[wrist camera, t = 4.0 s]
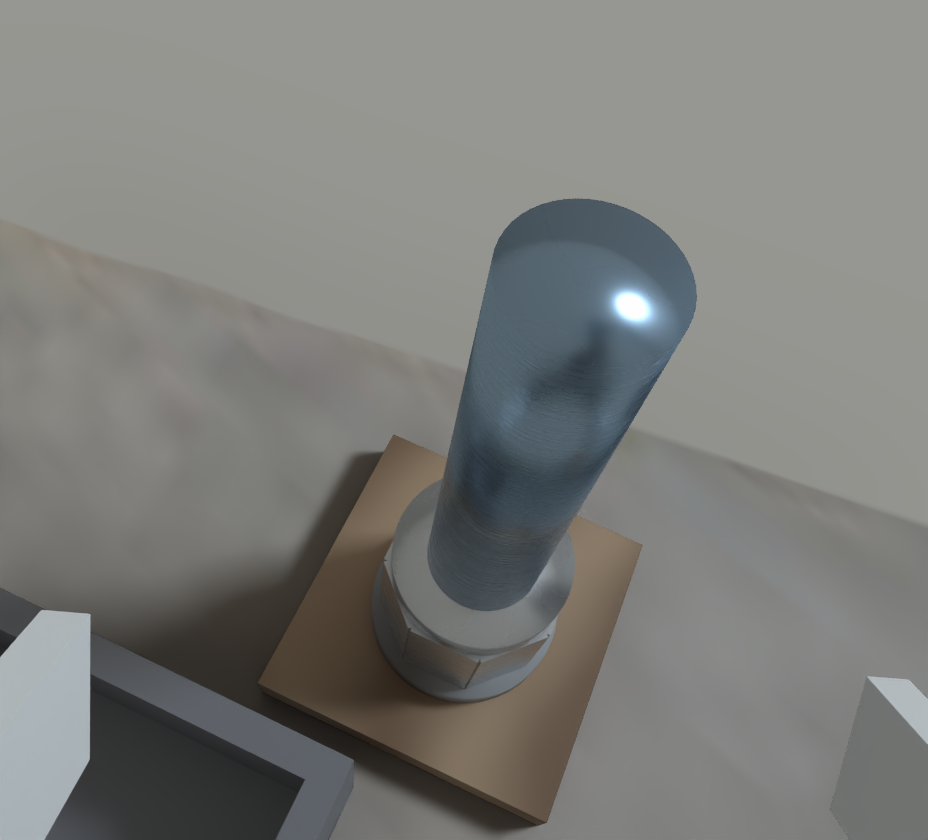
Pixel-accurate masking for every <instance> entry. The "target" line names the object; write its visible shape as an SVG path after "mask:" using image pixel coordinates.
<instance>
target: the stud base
mask: <svg viewBox="0 0 928 840" xmlns="http://www.w3.org/2000/svg"><path fill="white" fill-rule="evenodd" d="M446 462H447V458H446V457H443V456H441V455H439V454H437V453H434V452H432V451H430V450H427V449H425V448H423V447H421V446H418V445H416V444H414V443H412V442H409V441H407V440H405V439H403V438H400V437H398V436H396V435H393V436H392V438H391V440H390V442H389V444H388V446H387V447H386V449H385V451H384V453H383V455H382V457H381V458H380V460H379V462H378V464H377V466H376V468H375V469H374V471H373V473H372V475H371V477H370V478H369V480H368V482H367V484H366V486H365V488H364V489H363V491H362V493H361V495H360V497H359V499H358V500H357V502H356V504H355V506H354V508H353V509H352V511H351V513H350V515H349V517H348V519H347V520H346V522H345V524H344V526H343V528H342V530H341V531H340V533H339V535H338V537H337V539H336V541H335V542H334V544H333V546H332V548H331V550H330V551H329V553H328V555H327V557H326V559H325V561H324V562H323V564H322V566H321V568H320V570H319V572H318V573H317V575H316V577H315V579H314V581H313V582H312V584H311V586H310V588H309V590H308V592H307V593H306V595H305V597H304V599H303V601H302V603H301V604H300V606H299V608H298V610H297V612H296V614H295V615H294V617H293V619H292V621H291V623H290V624H289V626H288V628H287V630H286V632H285V634H284V635H283V637H282V639H281V641H280V643H279V645H278V646H277V648H276V650H275V652H274V654H273V655H272V657H271V659H270V661H269V663H268V665H267V666H266V668H265V670H264V672H263V674H262V676H261V677H260V679H259V681H258V685H259V688H260V690H261V692H263V693H265V694H267V695H269V696H271V697H273V698H275V699H277V700H280V701H282V702H284V703H286V704H288V705H290V706H292V707H294V708H296V709H298V710H300V711H302V712H304V713H306V714H308V715H311V716H313V717H315V718H317V719H319V720H321V721H323V722H325V723H327V724H329V725H331V726H333V727H335V728H337V729H339V730H342V731H344V732H346V733H348V734H350V735H352V736H354V737H356V738H358V739H360V740H362V741H364V742H366V743H368V744H371V745H373V746H375V747H377V748H379V749H381V750H383V751H385V752H387V753H389V754H391V755H393V756H395V757H397V758H399V759H402V760H404V761H406V762H408V763H410V764H412V765H414V766H416V767H418V768H420V769H422V770H424V771H426V772H428V773H430V774H433V775H435V776H437V777H439V778H441V779H443V780H445V781H447V782H449V783H451V784H453V785H455V786H457V787H459V788H462V789H464V790H466V791H468V792H470V793H472V794H474V795H476V796H478V797H480V798H482V799H484V800H486V801H488V802H490V803H493V804H495V805H497V806H499V807H501V808H503V809H505V810H507V811H509V812H511V813H513V814H515V815H517V816H519V817H522V818H524V819H526V820H528V821H530V822H532V823H534V824H536V825H538V826H539V825H542V824H544V823H547V821H548V818H549V815H550V812H551V809H552V806H553V803H554V800H555V797H556V795H557V792H558V789H559V786H560V783H561V780H562V777H563V774H564V771H565V769H566V766H567V763H568V760H569V757H570V754H571V751H572V748H573V745H574V742H575V740H576V737H577V734H578V731H579V728H580V725H581V722H582V719H583V716H584V713H585V711H586V708H587V705H588V702H589V699H590V696H591V693H592V690H593V687H594V684H595V682H596V679H597V676H598V673H599V670H600V667H601V664H602V661H603V658H604V655H605V653H606V650H607V647H608V644H609V641H610V638H611V635H612V632H613V629H614V627H615V624H616V621H617V618H618V615H619V612H620V609H621V606H622V603H623V600H624V598H625V595H626V592H627V589H628V586H629V583H630V580H631V577H632V574H633V571H634V569H635V566H636V563H637V560H638V557H639V554H640V551H641V548H642V544H640V543H637V542H635V541H633V540H631V539H628V538H626V537H624V536H622V535H619V534H617V533H615V532H613V531H610V530H608V529H606V528H604V527H601V526H599V525H597V524H595V523H592V522H590V521H588V520H585V519H583V518H581V517H579V516H575V518H574V519H573V521H572V523H571V524H570V526H569V528H568V531H569V534H570V536H571V540H572V544H573V548H574V555H575V573H574V580H573V584H572V588H571V591H570V594H569V596H568V598H567V600H566V603H565V605H564V606H563V608H562V609H561V611H560V612H559V614H558V617H557V619H556V622H555V625H554V627H553V630H552V632H551V635H550V636H549V638H548V639H547V640H546V642H545V643H544V644H543V645H542V647H541V648H540V649H539V651H538V652H537V653H536V654H535V656H534V657H533V658H532V659H531V661H530V662H529V663H528V665H526V666H525V667H523V668H520V669H518V670H515V671H512V672H510V673H507V674H505V675H502V676H500V677H497V678H494V679H492V680H489V681H487V682H484V683H481V684H479V685H476V686H474V687H471V688H468V689H465V687H464V689H461V688H459V687H457V686H455V685H453V684H451V683H448V682H446V681H444V680H442V679H440V678H438V677H436V676H434V675H431V674H429V673H427V672H425V671H423V670H421V669H419V668H417V667H415V666H412V665H410V664H408V663H406V662H404V661H403V660H404V658H403V659H401V657H400V654H399V651H398V648H397V646H396V643H395V640H394V637H393V634H392V631H391V629H390V626H389V623H388V620H387V617H386V614H385V612H384V609H383V606H382V603H381V600H380V592H381V582H382V572H383V562H384V557H385V556H386V554H387V552H388V550H389V548H390V546H391V544H392V542H393V538H394V534H395V531H396V527H397V525H398V522H399V520H400V518H401V516H402V514H403V513H404V511H405V509H406V508H407V506H408V505H409V504H410V503H411V501H412V500H413V499H414V498H415V497H416V496H417V495H418V494H419V493H420V492H421V491H422V490H424V489H425V488H427V487H428V486H429V485H431V484H433V483H435V482H436V481H438V480H440V479H443V475H444V471H445V466H446Z"/></svg>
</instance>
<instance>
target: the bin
mask: <svg viewBox="0 0 928 840" xmlns="http://www.w3.org/2000/svg"><path fill="white" fill-rule="evenodd" d="M41 610H45V609H43V608H41V607H39V606H37V605H34V604H32V603H30V602H28V601H26V600H24V599H22V598H20V597H18V596H16V595H14V594H12V593H10V592H8V591H6V590H4V589H2V588H0V657H1V656H2V655H3V653H4V652H5V651H6V650H7V649H8V648H9V647H10V645H11V644H12V643H13V642H14V641H15V640H16V638H17V637H18V636H19V635H20V634H21V633H22V632H23V630H24V629H25V628H26V627H27V626H28V625H29V624H30V622H31V621H32V620H33V619H34V618H35V617H36V616H37V614H38V613H39V612H40V611H41ZM353 780H354V760H353V759H351V758H349V757H347V756H345V755H343V754H341V753H339V752H337V751H335V750H333V749H330V748H328V747H326V746H324V745H322V744H320V743H318V742H316V741H314V740H312V739H310V738H308V737H306V736H304V735H302V734H300V733H298V732H296V731H293V730H291V729H289V728H287V727H285V726H283V725H281V724H279V723H277V722H275V721H273V720H271V719H269V718H267V717H265V716H263V715H261V714H259V713H256V712H254V711H252V710H250V709H248V708H246V707H244V706H242V705H240V704H238V703H236V702H234V701H232V700H230V699H228V698H226V697H224V696H222V695H219V694H217V693H215V692H213V691H211V690H209V689H207V688H205V687H203V686H201V685H199V684H197V683H195V682H193V681H191V680H189V679H187V678H185V677H182V676H180V675H178V674H176V673H174V672H172V671H170V670H168V669H166V668H164V667H162V666H160V665H158V664H156V663H154V662H152V661H150V660H148V659H145V658H143V657H141V656H139V655H137V654H135V653H133V652H131V651H129V650H127V649H125V648H123V647H121V646H119V645H117V644H115V643H113V642H111V641H108V640H106V639H104V638H102V637H100V636H98V635H96V634H94V633H92V632H90V760H89V762H88V764H87V765H86V767H85V769H84V771H83V772H82V774H81V776H80V778H79V780H78V781H77V783H76V785H75V787H74V788H73V790H72V792H71V794H70V795H69V797H68V799H67V801H66V802H65V804H64V806H63V808H62V810H61V811H60V813H59V815H58V817H57V818H56V820H55V822H54V824H53V825H52V827H51V829H50V831H49V833H48V834H47V836H46V838H45V840H329V838H330V836H331V834H332V832H333V829H334V827H335V825H336V823H337V821H338V819H339V816H340V814H341V812H342V810H343V808H344V806H345V803H346V801H347V799H348V797H349V795H350V793H351V790H352V788H353Z"/></svg>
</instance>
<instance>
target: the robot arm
mask: <svg viewBox="0 0 928 840" xmlns="http://www.w3.org/2000/svg"><path fill="white" fill-rule="evenodd" d="M89 760H90V614H86V613H73V612H61V611H49V610H41V611H40V612H39V613H38V614H37V616H36V617H35V618H34V619H33V620H32V621H31V622H30V624H29V625H28V626H27V627H26V628H25V629H24V630H23V632H22V633H21V634H20V635H19V636H18V637H17V638H16V640H15V641H14V642H13V643H12V644H11V645H10V647H9V648H8V649H7V650H6V651H5V652H4V653H3V655H2V656H1V657H0V840H45V838H46V836H47V834H48V833H49V831H50V829H51V827H52V825H53V824H54V822H55V820H56V818H57V817H58V815H59V813H60V811H61V810H62V808H63V806H64V804H65V802H66V801H67V799H68V797H69V795H70V794H71V792H72V790H73V788H74V787H75V785H76V783H77V781H78V780H79V778H80V776H81V774H82V772H83V771H84V769H85V767H86V765H87V764H88V762H89ZM830 810H831V812H832V813H833V815H834V816H835V818H836V819H837V821H838V823H839V824H840V826H841V827H842V829H843V830H844V832H845V833H846V835H847V836H848V838H849V839H850V840H928V699H927V698H926V697H925V696H924V695H923V694H922V693H921V692H920V691H919V690H918V689H917V688H916V687H915V686H914V685H913V684H912V683H911V682H910V681H909V680H906V679H894V678H881V677H869V676H867V677H866V680H865V684H864V688H863V691H862V695H861V699H860V702H859V706H858V709H857V713H856V717H855V720H854V724H853V728H852V731H851V735H850V738H849V742H848V746H847V749H846V753H845V757H844V760H843V764H842V768H841V771H840V775H839V778H838V782H837V786H836V789H835V793H834V797H833V800H832V804H831V807H830Z"/></svg>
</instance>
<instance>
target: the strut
mask: <svg viewBox="0 0 928 840" xmlns="http://www.w3.org/2000/svg"><path fill="white" fill-rule="evenodd" d="M696 299H697V295H696V285H695V280H694V276H693V273H692V270H691V267H690V265H689V263H688V261H687V259H686V257H685V256H684V254H683V253H682V251H681V250H680V248H679V247H678V246H677V245H676V243H675V242H674V241H673V240H672V239H671V238H670V237H669V236H668V235H667V234H666V233H665V232H664V231H663V230H662V229H660V228H659V227H658V226H657V225H655V224H654V223H652V222H651V221H650V220H648V219H646V218H645V217H643V216H641V215H640V214H637V213H636V212H633V211H631V210H629V209H627V208H624V207H621V206H618V205H615V204H612V203H607V202H604V201H598V200H591V199H563V200H557V201H552V202H549V203H545V204H541V205H539V206H536V207H534V208H532V209H530V210H528V211H527V212H525V213H523V214H521V215H520V216H519V217H517V218H516V219H515V220H514V221H512V222H511V223H510V225H509V226H508V227H507V228H506V229H505V230H504V232H503V233H502V235H501V236H500V238H499V240H498V242H497V244H496V247H495V249H494V253H493V257H492V261H491V266H490V270H489V275H488V279H487V284H486V288H485V293H484V297H483V302H482V306H481V310H480V315H479V320H478V324H477V328H476V333H475V337H474V342H473V346H472V351H471V355H470V360H469V364H468V369H467V373H466V377H465V382H464V386H463V391H462V395H461V400H460V404H459V409H458V413H457V417H456V422H455V426H454V431H453V435H452V440H451V444H450V449H449V453H448V458H447V462H446V466H445V471H444V475H443V479H440V480H438V481H436V482H435V483H433V484H431V485H429V486H428V487H427V488H425V489H424V490H422V491H421V492H420V493H419V494H418V495H417V496H416V497H415V498H414V499H413V500H412V501H411V503H410V504H409V505H408V506H407V508H406V509H405V511H404V513H403V514H402V516H401V518H400V520H399V522H398V525H397V527H396V531H395V534H394V538H393V542H392V544H391V546H390V548H389V550H388V552H387V554H386V556H385V557H384V562H383V572H382V582H381V592H380V600H381V603H382V606H383V609H384V612H385V614H386V617H387V620H388V623H389V626H390V629H391V631H392V634H393V637H394V640H395V643H396V646H397V648H398V651H399V654H400V657H401V659H403V658H404V660H403V661H404V662H406V663H408V664H410V665H412V666H415V667H417V668H419V669H421V670H423V671H425V672H427V673H429V674H431V675H434V676H436V677H438V678H440V679H442V680H444V681H446V682H448V683H451V684H453V685H455V686H457V687H459V688H461V689H464V687H465V689H468V688H471V687H474V686H476V685H479V684H481V683H484V682H487V681H489V680H492V679H494V678H497V677H500V676H502V675H505V674H507V673H510V672H512V671H515V670H518V669H520V668H523V667H525V666H526V665H528V663H529V662H530V661H531V659H532V658H533V657H534V656H535V654H536V653H537V652H538V651H539V649H540V648H541V647H542V645H543V644H544V643H545V642H546V640H547V639H548V638H549V636H550V635H551V632H552V630H553V627H554V625H555V622H556V619H557V617H558V614H559V612H560V611H561V609H562V608H563V606H564V605H565V603H566V600H567V598H568V596H569V594H570V591H571V588H572V584H573V580H574V573H575V555H574V548H573V544H572V540H571V536H570V534H569V531H568V528H569V526H570V524H571V523H572V521H573V519H574V518H575V516H576V514H577V513H578V511H579V509H580V508H581V506H582V504H583V503H584V501H585V499H586V498H587V496H588V494H589V493H590V491H591V489H592V488H593V486H594V484H595V483H596V481H597V479H598V478H599V476H600V474H601V473H602V471H603V469H604V468H605V466H606V464H607V463H608V461H609V459H610V458H611V456H612V454H613V453H614V451H615V449H616V448H617V446H618V444H619V443H620V441H621V439H622V438H623V436H624V434H625V433H626V431H627V429H628V428H629V426H630V424H631V423H632V421H633V419H634V418H635V416H636V414H637V413H638V411H639V409H640V408H641V406H642V404H643V403H644V401H645V399H646V398H647V396H648V394H649V392H650V391H651V389H652V388H653V386H654V384H655V383H656V381H657V379H658V378H659V376H660V374H661V373H662V371H663V369H664V368H665V366H666V364H667V363H668V361H669V359H670V358H671V356H672V354H673V353H674V351H675V349H676V348H677V346H678V344H679V343H680V341H681V339H682V338H683V336H684V334H685V333H686V331H687V329H688V328H689V325H690V323H691V321H692V319H693V316H694V312H695V309H696Z"/></svg>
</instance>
